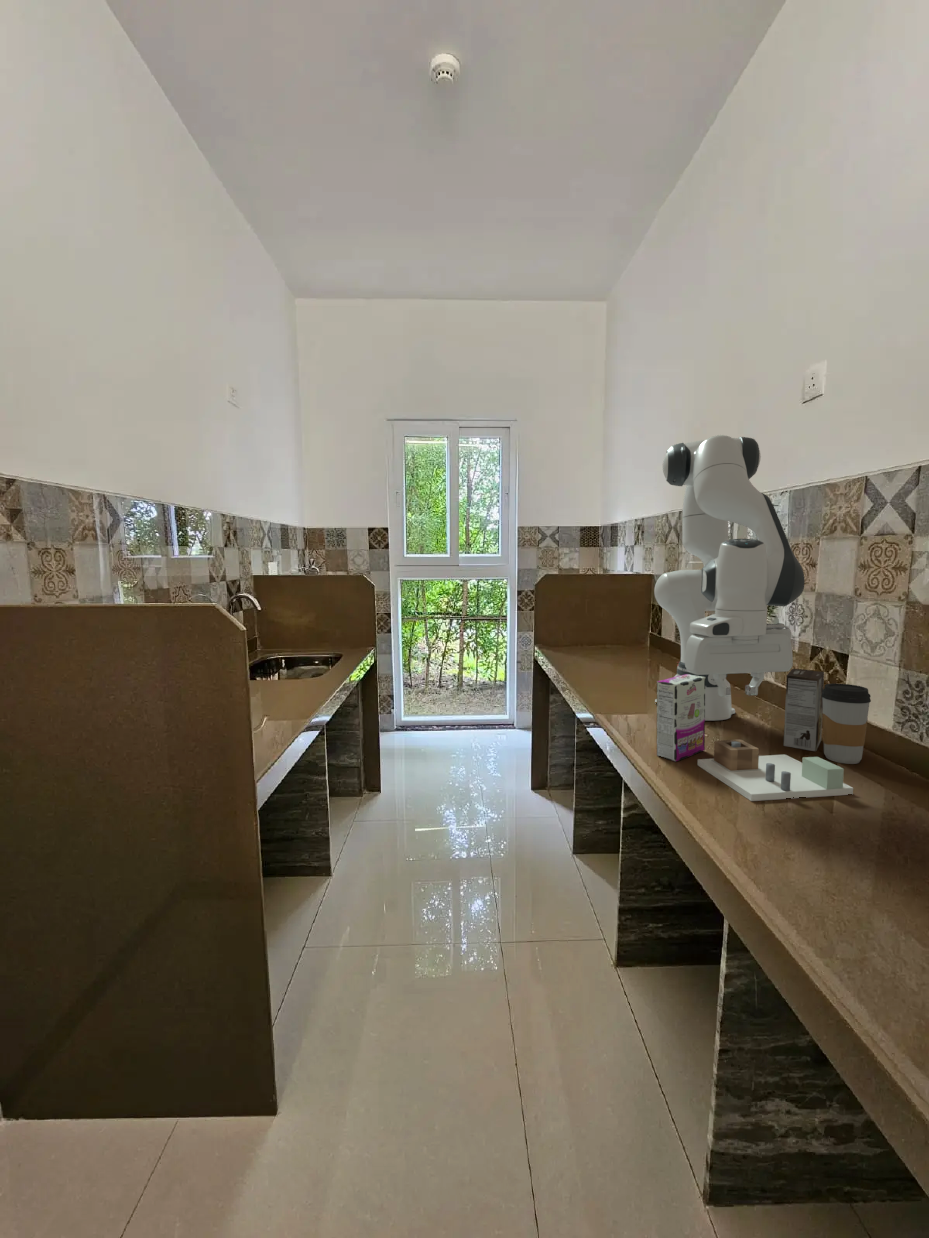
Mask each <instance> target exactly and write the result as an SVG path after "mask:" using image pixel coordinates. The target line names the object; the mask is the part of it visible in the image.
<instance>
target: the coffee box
mask: <svg viewBox="0 0 929 1238" xmlns="http://www.w3.org/2000/svg"><path fill="white" fill-rule="evenodd" d="M824 679H825V672H824V671H818V670H817V671H816V670H815V671H814V670H810V669H802V668H801V669H800V668H791V669H790V670H789V671H788V673H787V674H786V682H785V683H786V684H785V686H786V687H785V688H786V689H785V704H784V705H785V706H784V707H785V708H784V710H785V711H784V728H783V729H784V730H783V731H784V732H783V746H784V747H789V748H793V749H794V748H795V749H799V750H800V749H801V750H806V751H811V752H817V751H818V748H819V746H820V744H821V741H822V735H823V719H822V713H823V701H822V697H821V695H822V690H823V689H824V687H825V684H824V681H825V680H824Z"/></svg>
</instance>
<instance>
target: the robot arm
mask: <svg viewBox="0 0 929 1238" xmlns="http://www.w3.org/2000/svg"><path fill="white" fill-rule="evenodd" d="M761 457H762V456H761V450H760V446H759V443H758V441H756V439H755V438H754V437H753V438H751V437H745V436H739V437H732V436H728V435H724V434H722V435H721V434H720V435H719V434H718V435H714V436H710V437H708V438H706V439H701V440H696V441H691V442H686V443H684V442H680V443H676V444H674V445H671V446H670V447H669V448H668V449H667V450H666V453H665V454H664V457H663V460H662V473H663V475H664V477H665V481H666V482H667V483H668V484H669V485H671V486H675V487H683V486H685V490H684V495H683V502H682V513H681V514H682V516H681V517H682V518H681V519H682V524H681V525H682V527H681V528H682V536H681V538H682V542H681V543H682V547H683V548H684V549H685V551H686V552H687V553H689V554H691V555H692V556H694V557H696V558H698V559H699V560H700V561H701V563H702V565H703V567H702V568H701V569H678V570H673V571H668V572H664V573H662V574H661V575H660V576H659V578H657V580H656V583H655V585H654V598H655V600H656V602H657V604H658V605H659V606H660V607H661V608H662V609H663V610H665V611H666V612H667V613H668V614H669V615H670V616H671V618H672V619H673V620H674V622H675V623H676V626H677V628H678V631H679V637H680V638H679V639H680V661H676V663H678V664H676V666H677V667H676V674H675V675H674V676H673V677H677V676H681V675H685V674H691V675H696V676H702V677H705V721H723V720H728V719H730V718H731V717H732V715H733V714H736V709H735V708H734V707H732V691H731V690H732V688H731V684H730V682H729V681H728V680H727V677H728V675H730V674H735V675H736V674H750V677H752V678H751V680H750V681H749V682H750V683H749V684H745V685H744V688H745V690H744V694H745V695H748V696H752V697H753V696H758V694H759V687H760V685H761V683H762V682H763V681H764V679H765V673H782V672H784V673H786V672H790V671H791V670H792V668H793V665H794V662H793V661H794V656H793V647H792V642H791V641H792V639H791V638H792V631H791V629H790V627H789V626H787V625H785V624H784V623H780V622H779V623H778V622H777V623H767V622H768V621H767V619H768V606H772V607H774V606H775V607H786V606H788V605H790V604H792V603H793V602H794V601H796V600H797V599H798V598H799V597H800V596H801V595H802V594H803V592H804V590H805V583H806V582H805V580H806V579H805V573H804V570H803V567H802V565H801V563H800V561H799V560H798V559H797V557H796V555H795V554H794V551H793V550H792V548H791V545H790V543H789V540H788V538H787V535H786V533H785V530H784V528H783V525H782V523H781V520H780V518H779V516H778V513H777V511H776V509H775V507H774V504H773V503H772V501H771V499H770V497H769V496H768V495H767V494H765V493H763V492H760V490H758V489H757V488H756V487H755V486H754V485H753V483H752V482H751V480H750V479H751V478H752V477H753V476H754V475H756V473H757V471H758V469H759V465H760V462H761ZM729 522H730V523H733V524H737V525H740V526H744V527H746V528H748V529H749V530H751V531H753V533H754V534H756V537H757V539H754V538H733V539H730V536H729V535H730V534H729ZM710 611H711V612H714V613H712V614H710V615H709V616H706V612H710ZM655 702H657V698H655V699H654V703H655Z"/></svg>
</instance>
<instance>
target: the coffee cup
mask: <svg viewBox="0 0 929 1238" xmlns="http://www.w3.org/2000/svg"><path fill="white" fill-rule="evenodd" d="M821 697H822V701H823V710H822V741H823V754H824V755H825V758H826V759H828V760H830V761H833V762H835V763H840V764H848V765H849V764H850V765H854V764H857V765H858V764H859V763H860V762H861V760H862V758H863V753H864V752H863V751H864V747H865V742H866V733H867V728H868V717H869V716H868V715H869V708H870V703H871V701H872V700H871V693H869V688H867V687H864V686H862V685H861V686H860V685H854V684H846V683H827V684H824V686H823V690H822V695H821Z"/></svg>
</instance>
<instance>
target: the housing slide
mask: <svg viewBox="0 0 929 1238" xmlns="http://www.w3.org/2000/svg"><path fill="white" fill-rule="evenodd" d="M801 761H802V776H803V777H804V778H806V779H808V780H810V781H812V782H814V783H816V784H818V785H820V786H822V787H824V788H826V789H838V788H843V783H844V773H845V768H843V767H842V766H839V765H838V764H837V765H836V764H834V763H833V762H831V761H828V760H825V759H823V758H821V757H819V756H808V757H802V760H801Z"/></svg>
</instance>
